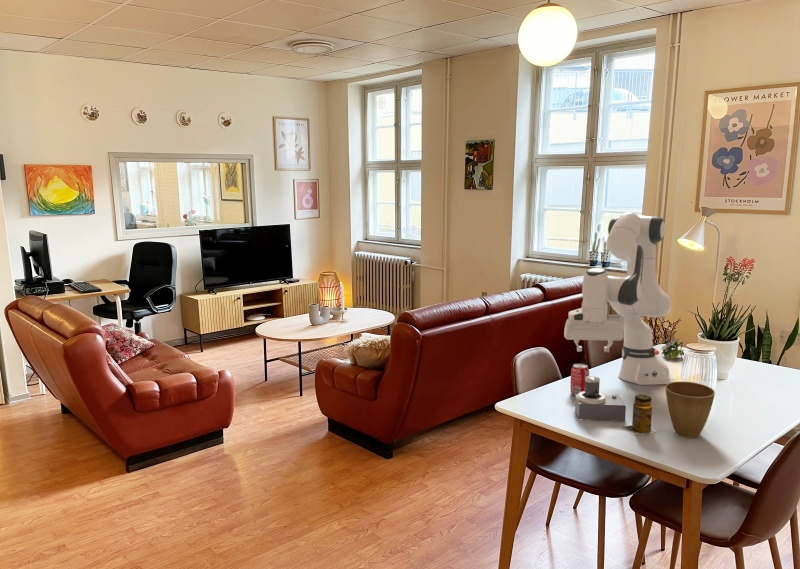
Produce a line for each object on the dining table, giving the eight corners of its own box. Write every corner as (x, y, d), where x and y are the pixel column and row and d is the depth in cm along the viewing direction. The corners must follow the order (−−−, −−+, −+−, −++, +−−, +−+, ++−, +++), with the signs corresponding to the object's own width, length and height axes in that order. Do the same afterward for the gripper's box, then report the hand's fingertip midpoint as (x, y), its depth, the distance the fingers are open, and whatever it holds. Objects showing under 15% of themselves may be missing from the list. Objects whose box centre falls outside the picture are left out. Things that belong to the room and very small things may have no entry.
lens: (597, 397, 222) (598, 376, 220) (599, 402, 217) (600, 380, 215) (583, 396, 222) (584, 376, 221) (585, 401, 217) (586, 380, 216)
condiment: (656, 432, 204) (658, 399, 202) (634, 435, 202) (636, 401, 200) (643, 424, 211) (645, 392, 209) (621, 427, 209) (623, 394, 207)
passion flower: (665, 366, 294) (665, 343, 299) (688, 366, 287) (689, 342, 292) (657, 357, 287) (658, 334, 291) (682, 357, 280) (682, 333, 285)
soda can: (586, 391, 245) (587, 363, 243) (590, 397, 238) (591, 368, 236) (568, 391, 246) (569, 362, 244) (571, 397, 239) (572, 368, 237)
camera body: (619, 411, 224) (620, 391, 222) (625, 421, 214) (626, 401, 213) (575, 409, 226) (575, 390, 225) (578, 419, 216) (579, 399, 215)
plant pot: (657, 424, 211) (659, 381, 208) (701, 425, 209) (704, 381, 206) (671, 442, 196) (674, 396, 193) (719, 444, 194) (722, 396, 192)
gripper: (622, 312, 216) (621, 349, 218) (564, 311, 219) (563, 348, 221) (626, 316, 210) (624, 354, 212) (566, 315, 213) (565, 353, 215)
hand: (592, 351), depth 217 cm, fingers open, 8 cm apart
